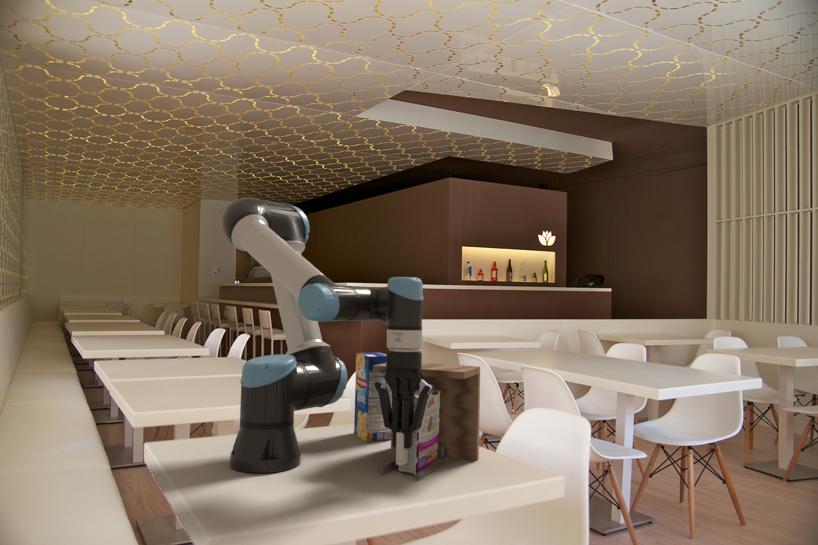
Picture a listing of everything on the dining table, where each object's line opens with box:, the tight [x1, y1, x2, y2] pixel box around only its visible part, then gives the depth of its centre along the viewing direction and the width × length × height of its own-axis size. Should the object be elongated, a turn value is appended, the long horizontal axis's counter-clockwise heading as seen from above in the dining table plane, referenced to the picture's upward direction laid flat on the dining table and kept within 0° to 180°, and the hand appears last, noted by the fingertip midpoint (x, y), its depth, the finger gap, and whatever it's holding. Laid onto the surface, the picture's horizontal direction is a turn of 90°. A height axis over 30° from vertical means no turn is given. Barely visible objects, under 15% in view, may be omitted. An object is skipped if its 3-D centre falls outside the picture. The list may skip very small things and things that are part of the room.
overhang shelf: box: [373, 362, 481, 481], centre depth 128 cm, size 22×21×22 cm
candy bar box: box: [397, 390, 441, 476], centre depth 125 cm, size 11×5×16 cm, turn 153°
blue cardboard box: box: [353, 351, 392, 443], centre depth 154 cm, size 7×11×22 cm, turn 23°
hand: (401, 463), depth 119 cm, fingers closed
